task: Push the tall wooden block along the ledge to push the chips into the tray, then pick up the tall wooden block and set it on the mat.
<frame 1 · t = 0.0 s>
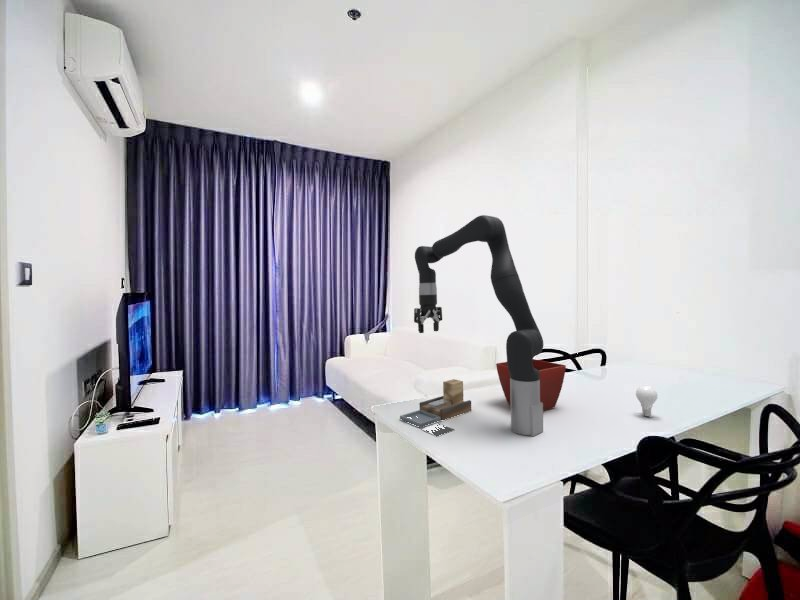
hand: (428, 332, 154), 29 cm above the table, fingers open, 8 cm apart
tray: (420, 420, 132), on the table
plant pot: (530, 407, 144), on the table
mat: (437, 429, 122), on the table
lightbulb: (646, 417, 130), on the table
ledge: (445, 412, 140), on the table
chip 1: (443, 404, 139), point 3 cm above the table, touching ledge
chip 2: (436, 407, 137), point 3 cm above the table, touching ledge
tall wooden block: (453, 401, 143), point 3 cm above the table, touching ledge
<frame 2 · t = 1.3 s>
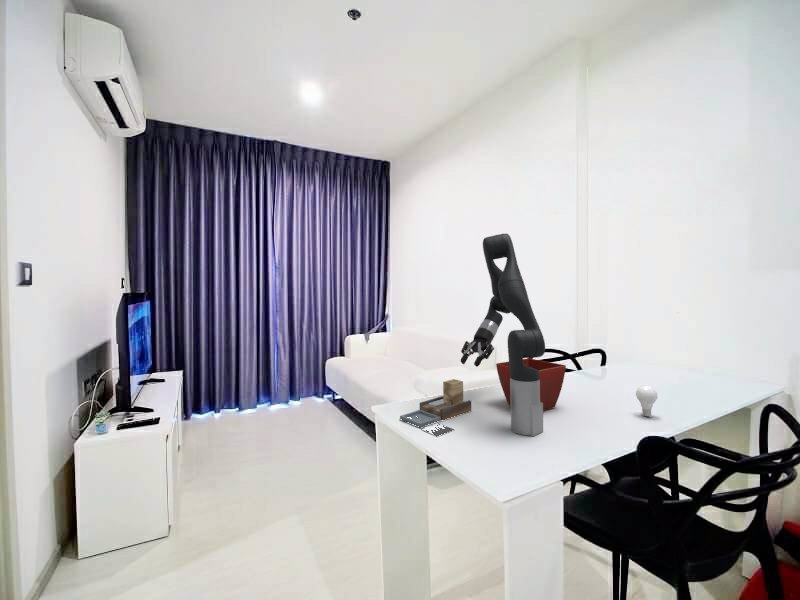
hand: (468, 364, 149), 16 cm above the table, fingers open, 6 cm apart
nothing on the table moved.
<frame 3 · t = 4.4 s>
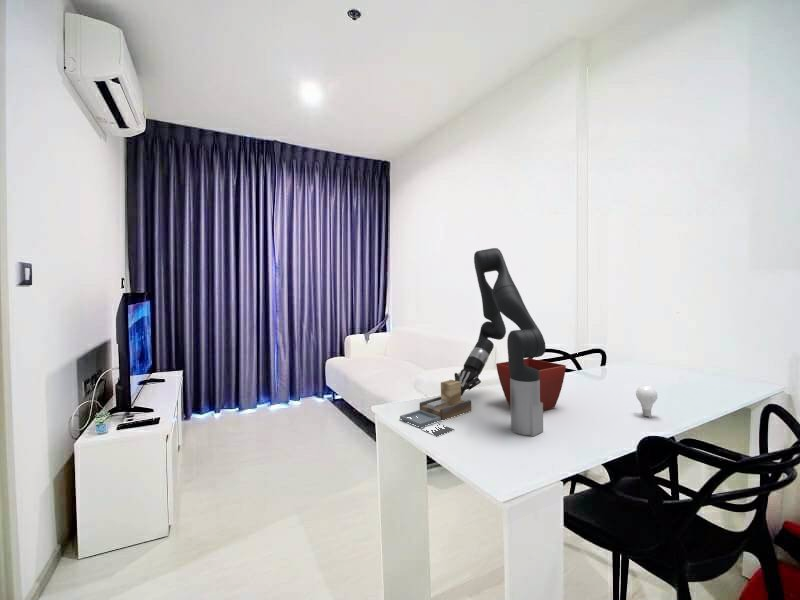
hand: (457, 396, 144), 5 cm above the table, fingers closed
chip 1: (442, 405, 139), point 3 cm above the table, touching tall wooden block
chip 2: (434, 407, 136), point 3 cm above the table
tall wooden block: (451, 402, 142), point 3 cm above the table, touching chip 1, gripper, ledge
everything else where it was.
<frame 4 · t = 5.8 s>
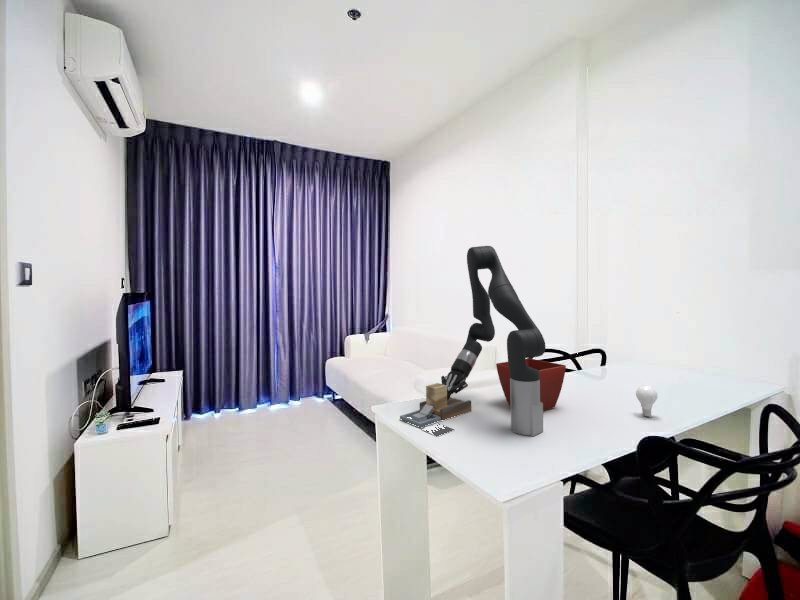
hand: (443, 400, 139), 5 cm above the table, fingers closed
chip 1: (428, 412, 134), point 2 cm above the table, tilted 37°, touching chip 2, ledge
chip 2: (419, 415, 132), point 2 cm above the table, tilted 180°, touching chip 1, tray
tall wooden block: (436, 406, 137), point 3 cm above the table, touching ledge
everything else where it was.
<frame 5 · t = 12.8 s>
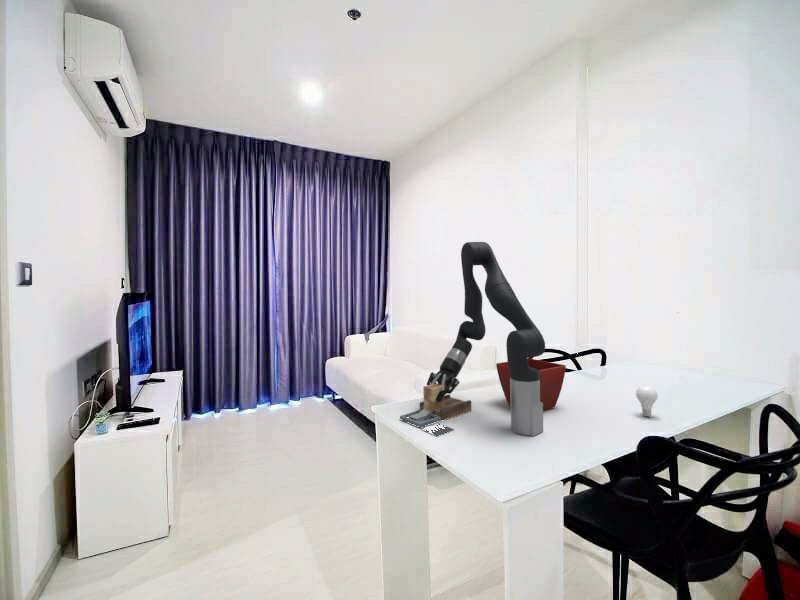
hand: (432, 399, 136), 6 cm above the table, fingers closed on tall wooden block, 5 cm apart
chip 1: (426, 415, 133), point 1 cm above the table, tilted 18°, touching chip 2, tray
chip 2: (416, 416, 131), point 2 cm above the table, tilted 180°, touching chip 1, tray
tall wooden block: (434, 407, 136), point 3 cm above the table, touching gripper, ledge
everything else where it was.
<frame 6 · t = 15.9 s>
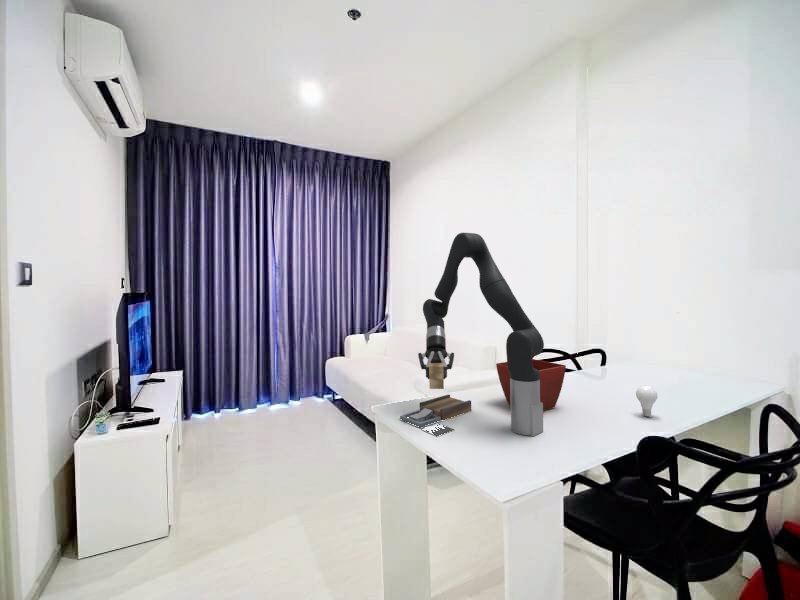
hand: (436, 377, 131), 15 cm above the table, fingers closed on tall wooden block, 5 cm apart
tall wooden block: (436, 386, 132), point 12 cm above the table, touching gripper
everything else where it was.
when the fingers open (5 cm above the table, at t = 18.9 s): tall wooden block drops 2 cm, resting on mat.
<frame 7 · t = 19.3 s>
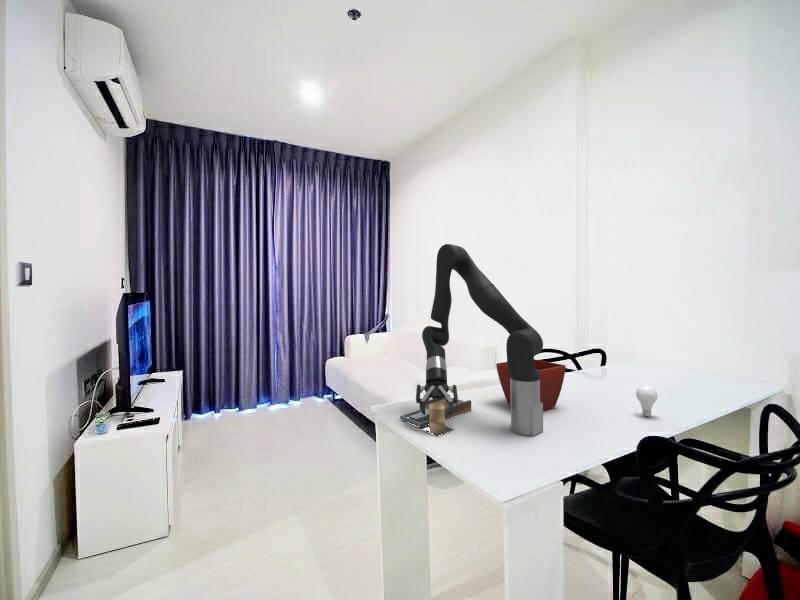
hand: (437, 414, 121), 6 cm above the table, fingers open, 8 cm apart
tall wooden block: (437, 429, 122), resting on mat
everything else where it was.
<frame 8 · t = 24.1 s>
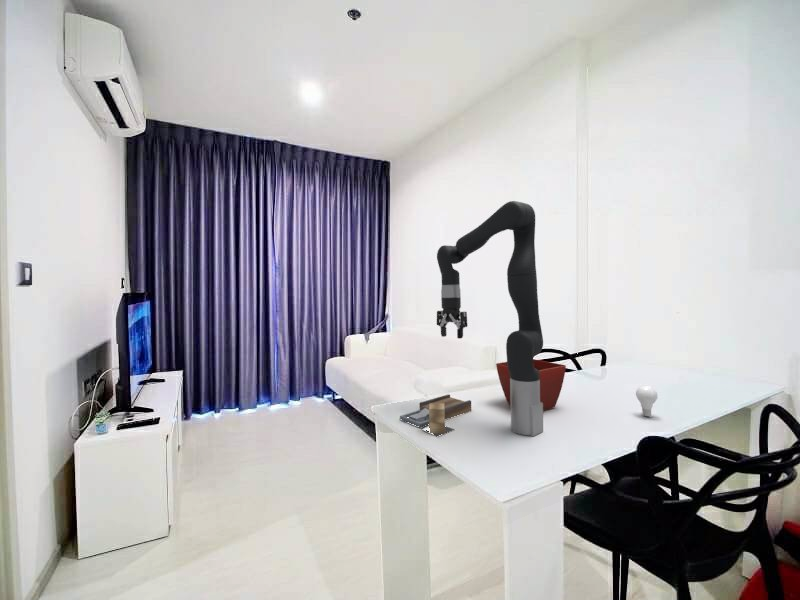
hand: (451, 337, 144), 28 cm above the table, fingers open, 8 cm apart
nothing on the table moved.
at the end: chip 1 inside the target area on the tray (2.9 cm from its centre), point 1.1 cm above the tray's base; chip 2 inside the target area on the tray (1.5 cm from its centre), point 1.9 cm above the tray's base; tall wooden block inside the target area on the mat (0.7 cm from its centre), point 0.3 cm above the mat's base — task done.
